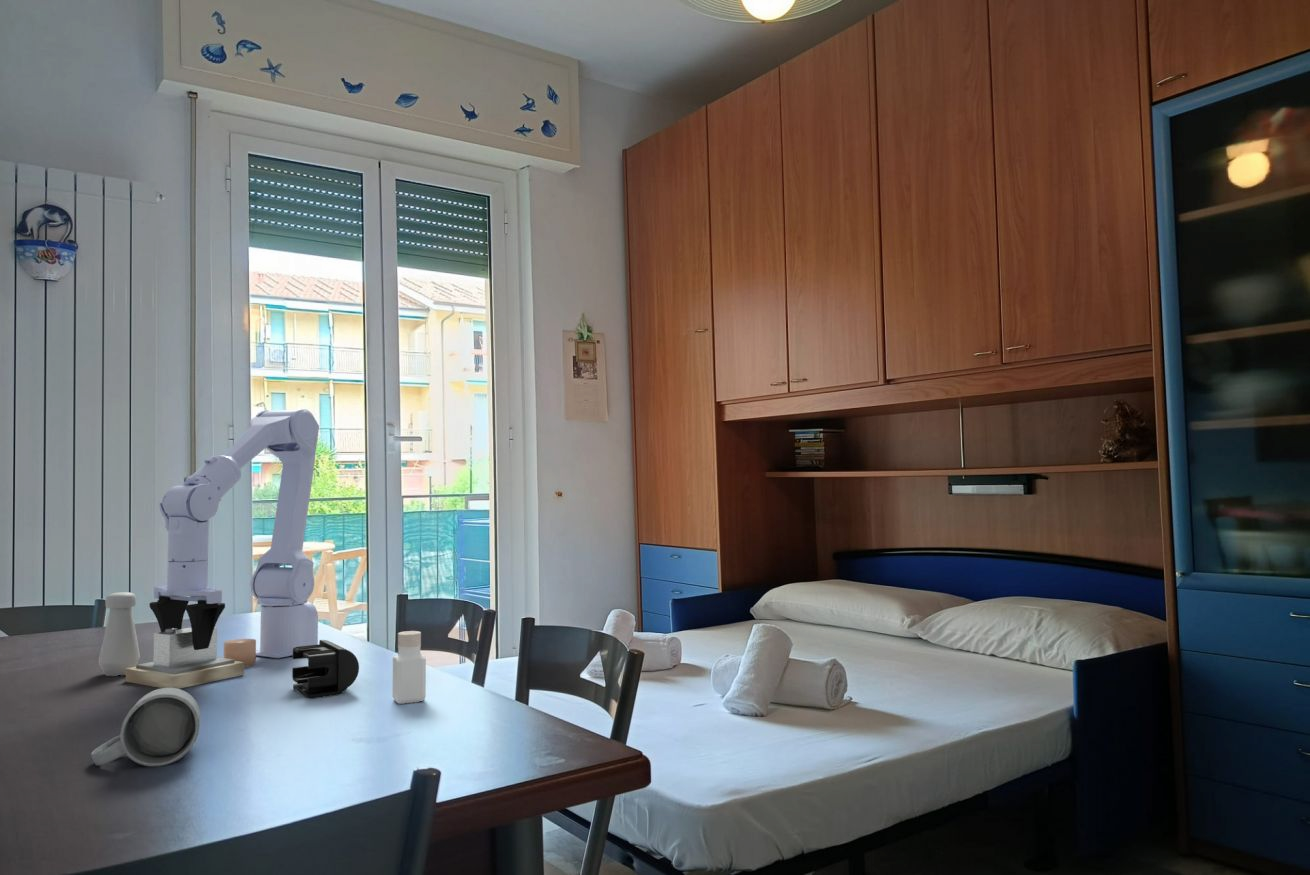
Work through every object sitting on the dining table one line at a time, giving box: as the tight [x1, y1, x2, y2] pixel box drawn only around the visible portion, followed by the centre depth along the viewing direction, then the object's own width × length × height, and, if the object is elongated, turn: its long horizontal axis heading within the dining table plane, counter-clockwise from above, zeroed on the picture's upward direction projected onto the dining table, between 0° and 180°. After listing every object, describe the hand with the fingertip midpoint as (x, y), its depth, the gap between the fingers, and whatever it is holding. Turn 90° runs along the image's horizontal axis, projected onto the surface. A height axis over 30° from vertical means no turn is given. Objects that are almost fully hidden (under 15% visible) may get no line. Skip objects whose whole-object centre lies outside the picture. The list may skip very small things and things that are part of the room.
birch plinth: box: [125, 656, 245, 690], centre depth 143 cm, size 12×12×2 cm
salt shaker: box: [97, 591, 141, 677], centre depth 147 cm, size 6×6×13 cm
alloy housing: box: [152, 626, 218, 668], centre depth 143 cm, size 8×4×6 cm, turn 151°
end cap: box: [291, 639, 360, 700], centre depth 135 cm, size 10×7×7 cm
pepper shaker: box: [392, 630, 427, 705], centre depth 128 cm, size 4×4×10 cm
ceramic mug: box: [90, 688, 201, 767], centre depth 102 cm, size 11×8×8 cm
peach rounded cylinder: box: [222, 638, 257, 668], centre depth 154 cm, size 5×5×4 cm
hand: (186, 646), depth 143 cm, fingers open, 7 cm apart
